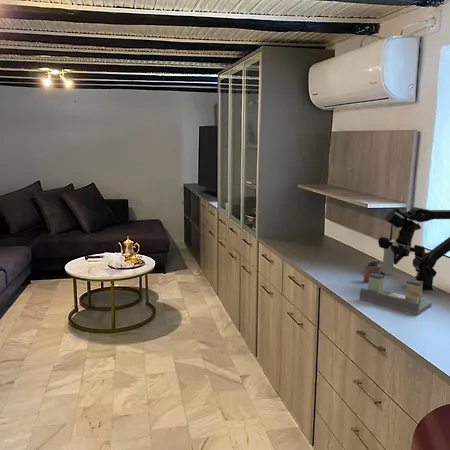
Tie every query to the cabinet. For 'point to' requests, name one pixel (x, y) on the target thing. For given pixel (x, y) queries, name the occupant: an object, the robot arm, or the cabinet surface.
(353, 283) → the cabinet surface
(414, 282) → the beech block
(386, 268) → the grey upright bar
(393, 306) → the switch board
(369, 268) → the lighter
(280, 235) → the cabinet surface
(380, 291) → the sage block
